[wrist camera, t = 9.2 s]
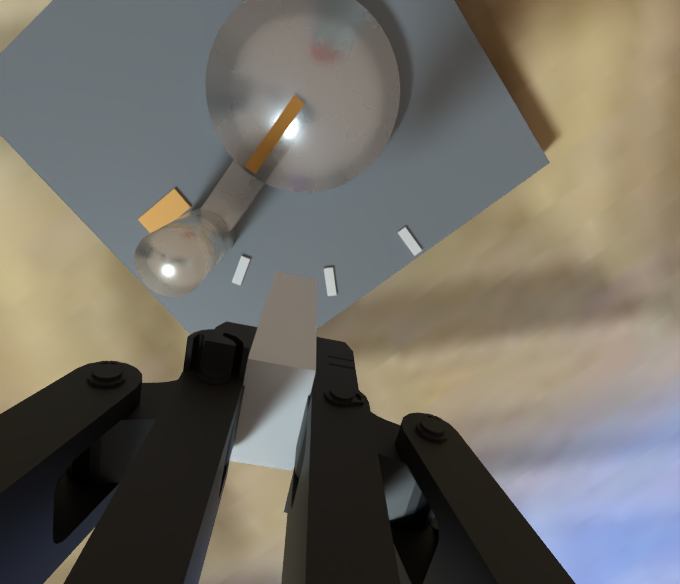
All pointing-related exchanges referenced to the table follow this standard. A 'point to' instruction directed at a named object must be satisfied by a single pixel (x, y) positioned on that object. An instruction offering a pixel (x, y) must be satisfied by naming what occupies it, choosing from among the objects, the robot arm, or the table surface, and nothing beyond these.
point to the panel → (213, 159)
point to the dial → (280, 121)
